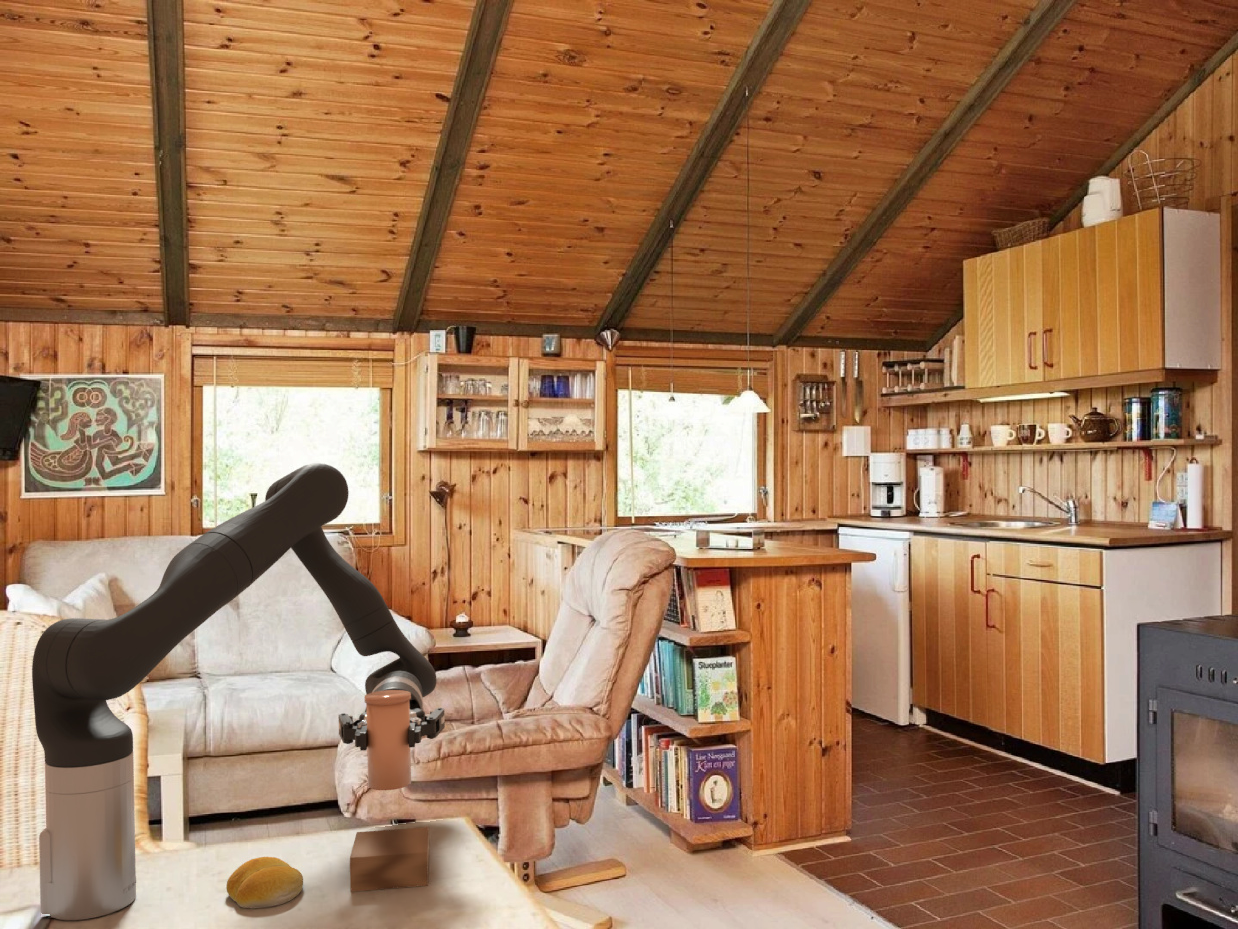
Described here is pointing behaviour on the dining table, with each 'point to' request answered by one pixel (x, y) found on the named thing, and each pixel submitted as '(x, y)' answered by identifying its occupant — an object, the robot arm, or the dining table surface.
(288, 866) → the bread roll
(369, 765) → the jar
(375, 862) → the plinth
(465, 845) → the dining table surface
